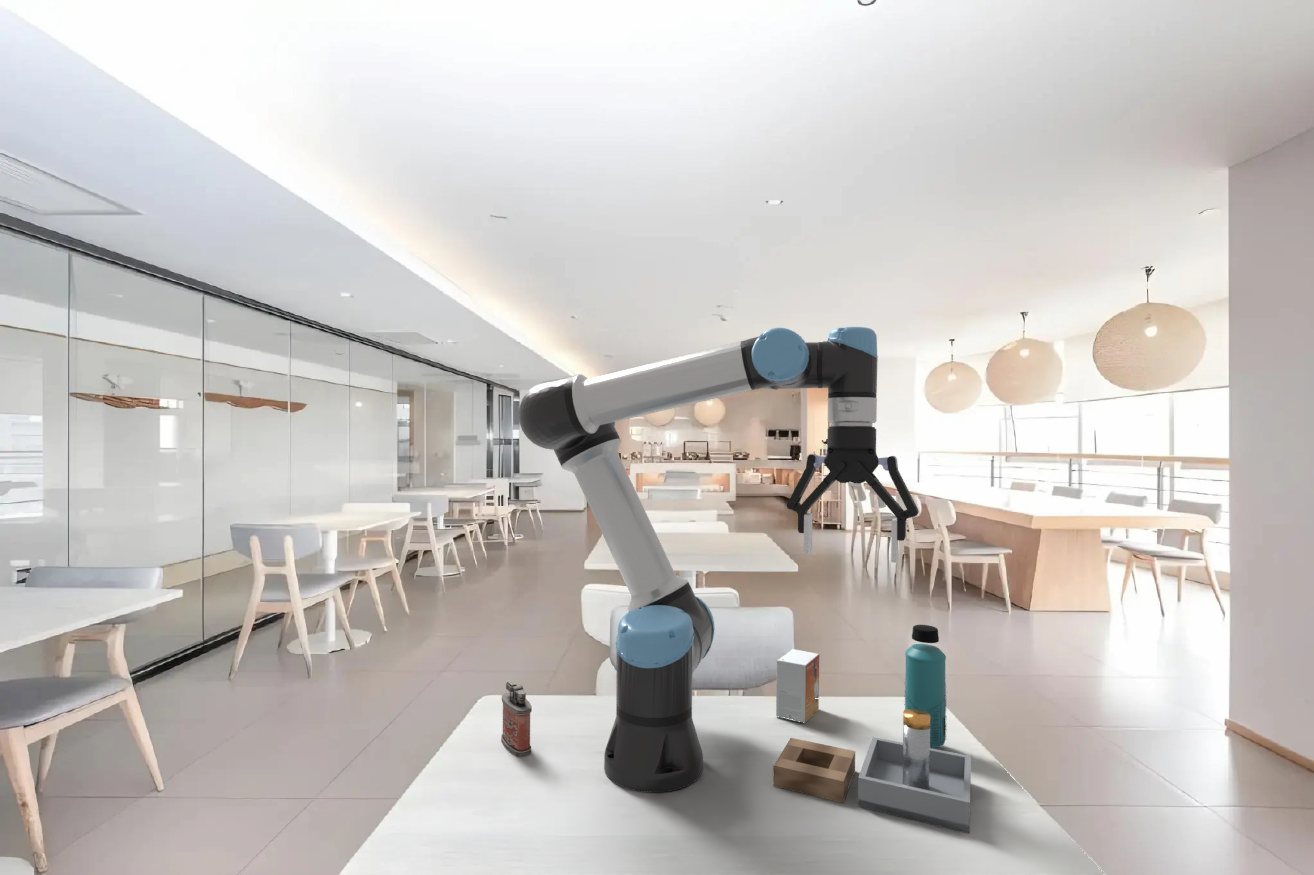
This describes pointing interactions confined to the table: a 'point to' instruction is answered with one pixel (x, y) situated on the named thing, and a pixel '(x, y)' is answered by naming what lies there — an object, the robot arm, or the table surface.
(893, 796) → the tray
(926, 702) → the beverage bottle
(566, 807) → the table surface
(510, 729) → the lighter
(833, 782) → the block
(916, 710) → the pin
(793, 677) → the small box
